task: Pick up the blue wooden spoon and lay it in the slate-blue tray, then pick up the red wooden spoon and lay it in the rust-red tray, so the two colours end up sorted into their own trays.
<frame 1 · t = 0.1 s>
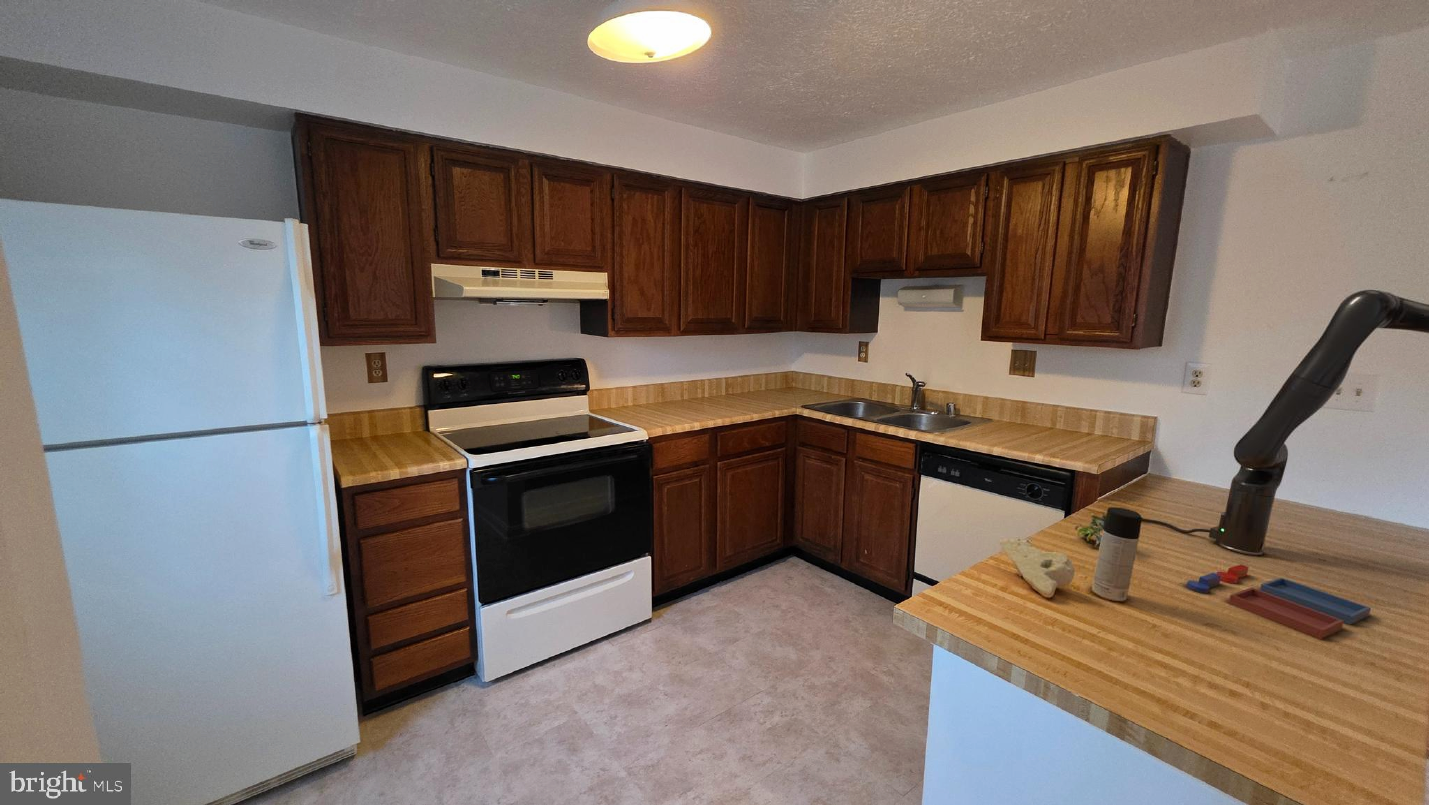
bone fragment: (1027, 583, 132), on the counter
spray can: (1108, 595, 128), on the counter
blue spoon: (1203, 587, 135), on the counter
red spoon: (1232, 577, 141), on the counter
red tray: (1282, 615, 123), on the counter
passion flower: (1101, 547, 157), on the counter
blue tray: (1312, 603, 130), on the counter
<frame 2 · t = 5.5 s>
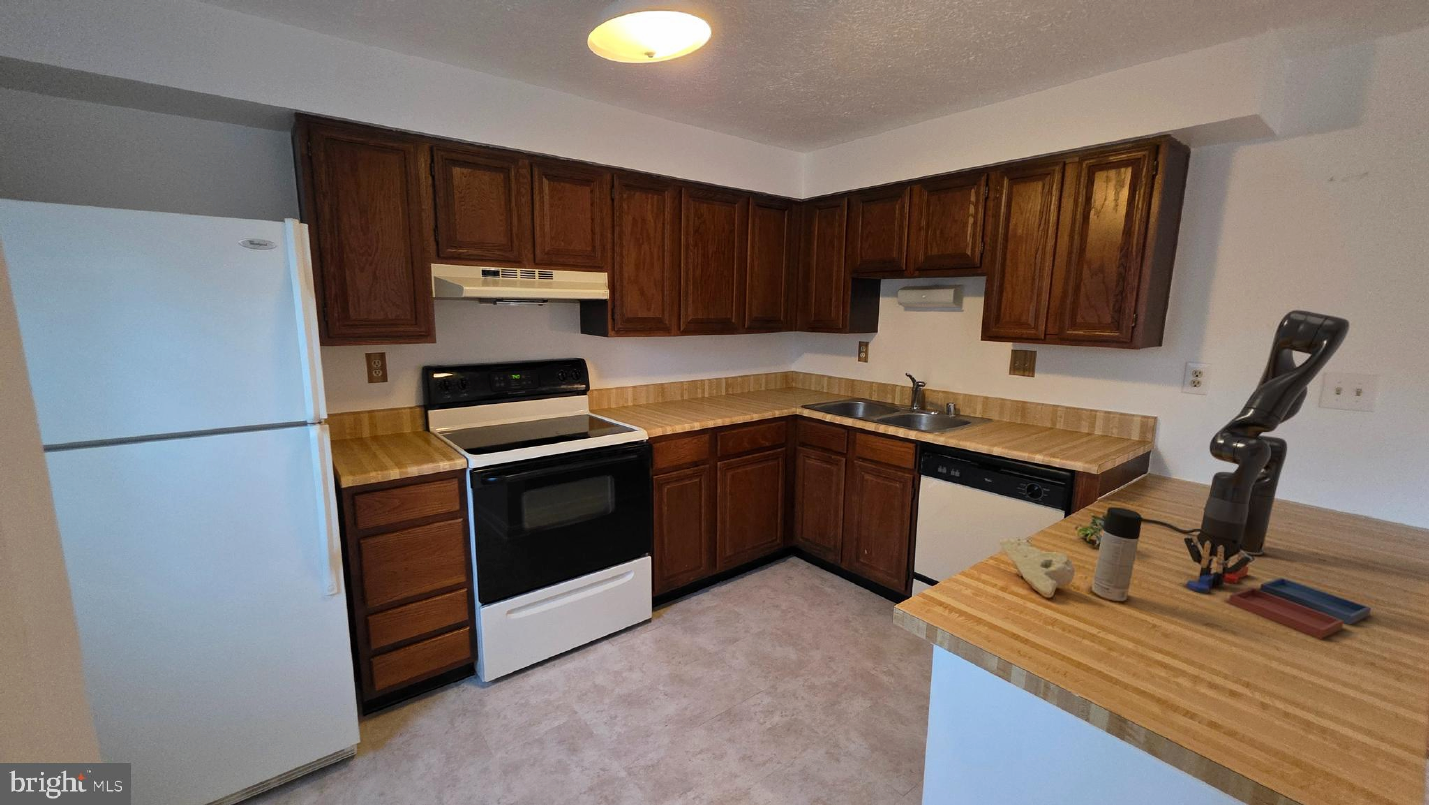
hand: (1210, 584, 137), 0 cm above the counter, tool pointing down, fingers closed on blue spoon
blue spoon: (1203, 587, 135), on the counter, touching gripper
everything else where it was.
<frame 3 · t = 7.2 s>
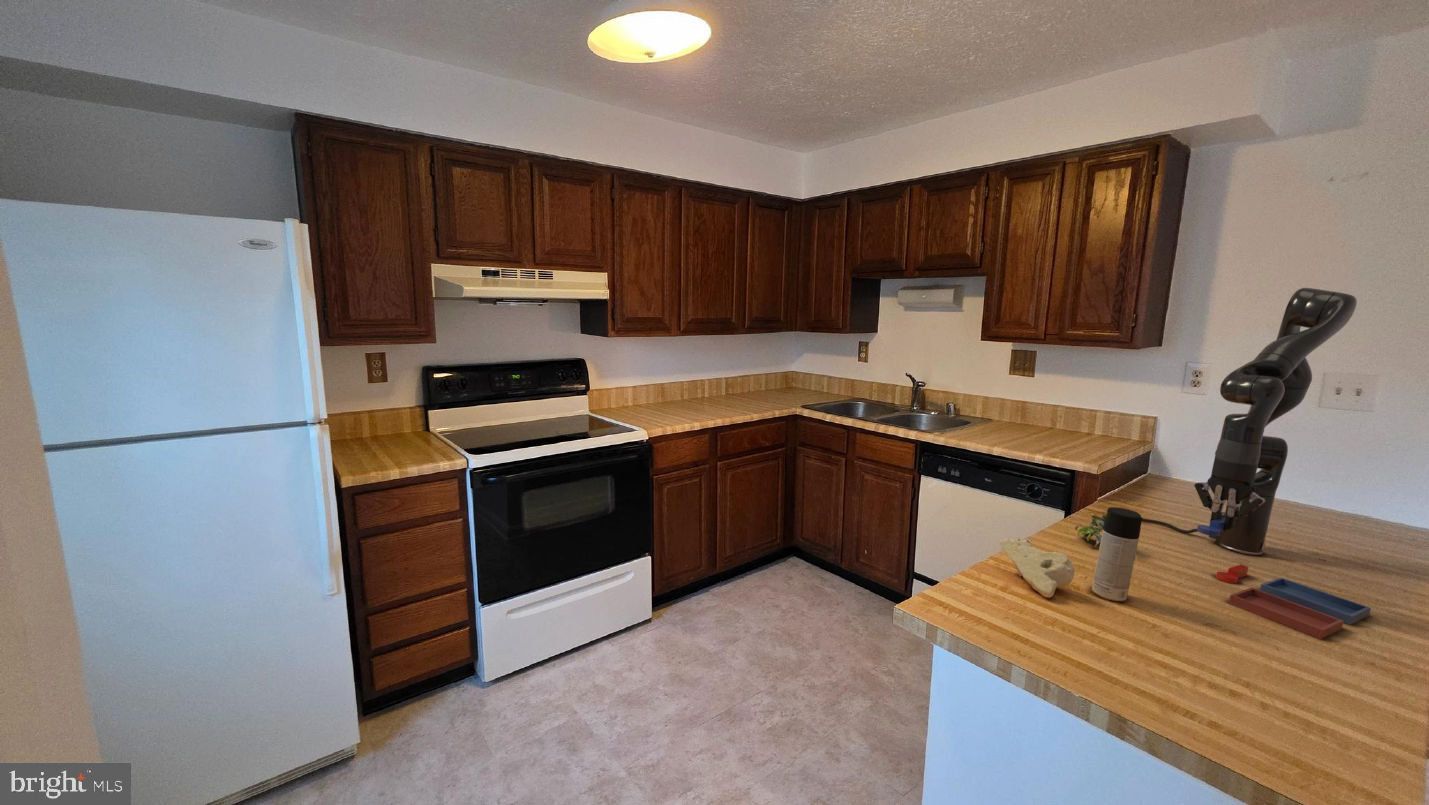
hand: (1221, 528, 134), 14 cm above the counter, tool pointing down, fingers closed on blue spoon, 1 cm apart
blue spoon: (1214, 531, 133), point 14 cm above the counter, touching gripper
everything else where it was.
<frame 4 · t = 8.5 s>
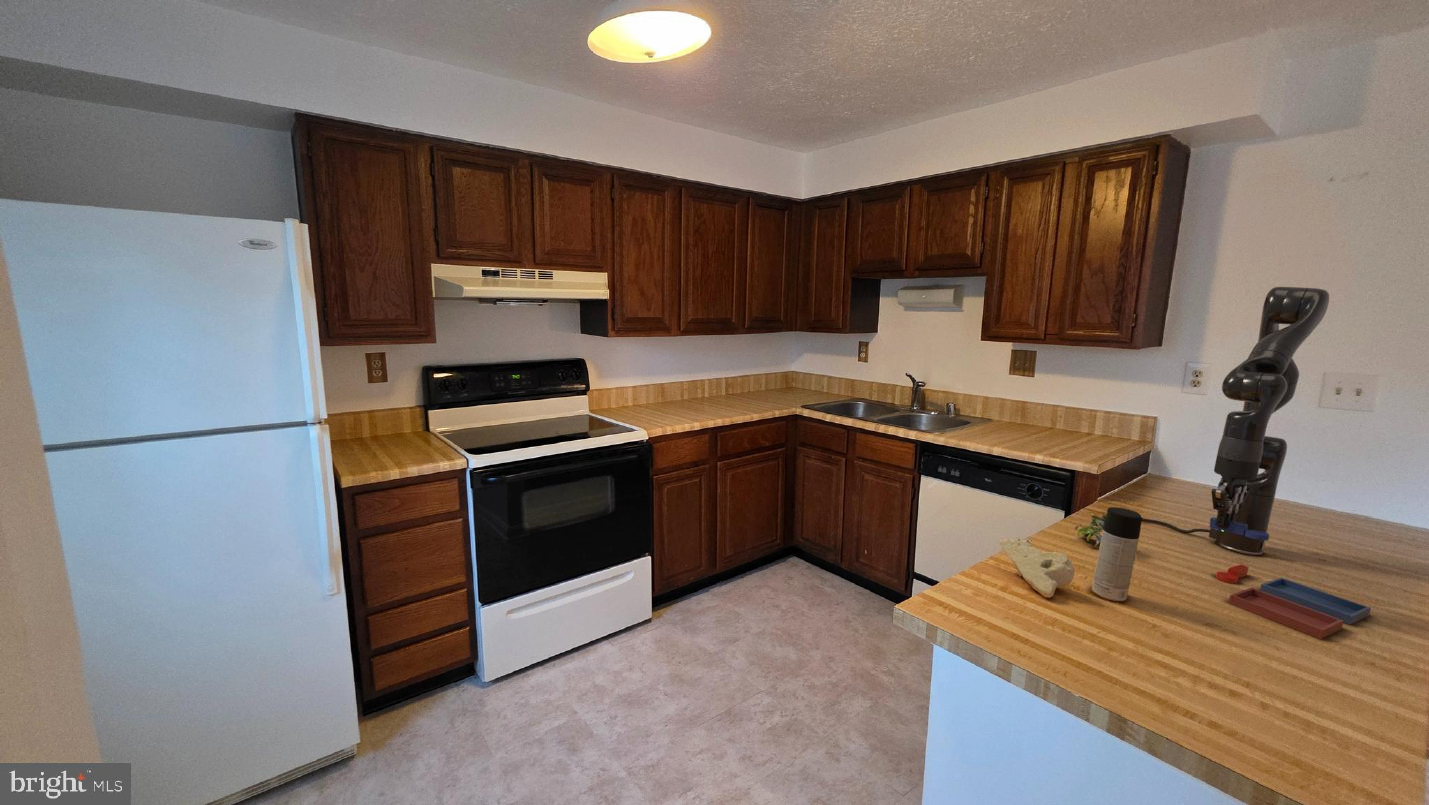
hand: (1223, 526, 134), 15 cm above the counter, tool pointing down, fingers closed on blue spoon, 1 cm apart
blue spoon: (1239, 533, 131), point 14 cm above the counter, touching gripper
everything else where it was.
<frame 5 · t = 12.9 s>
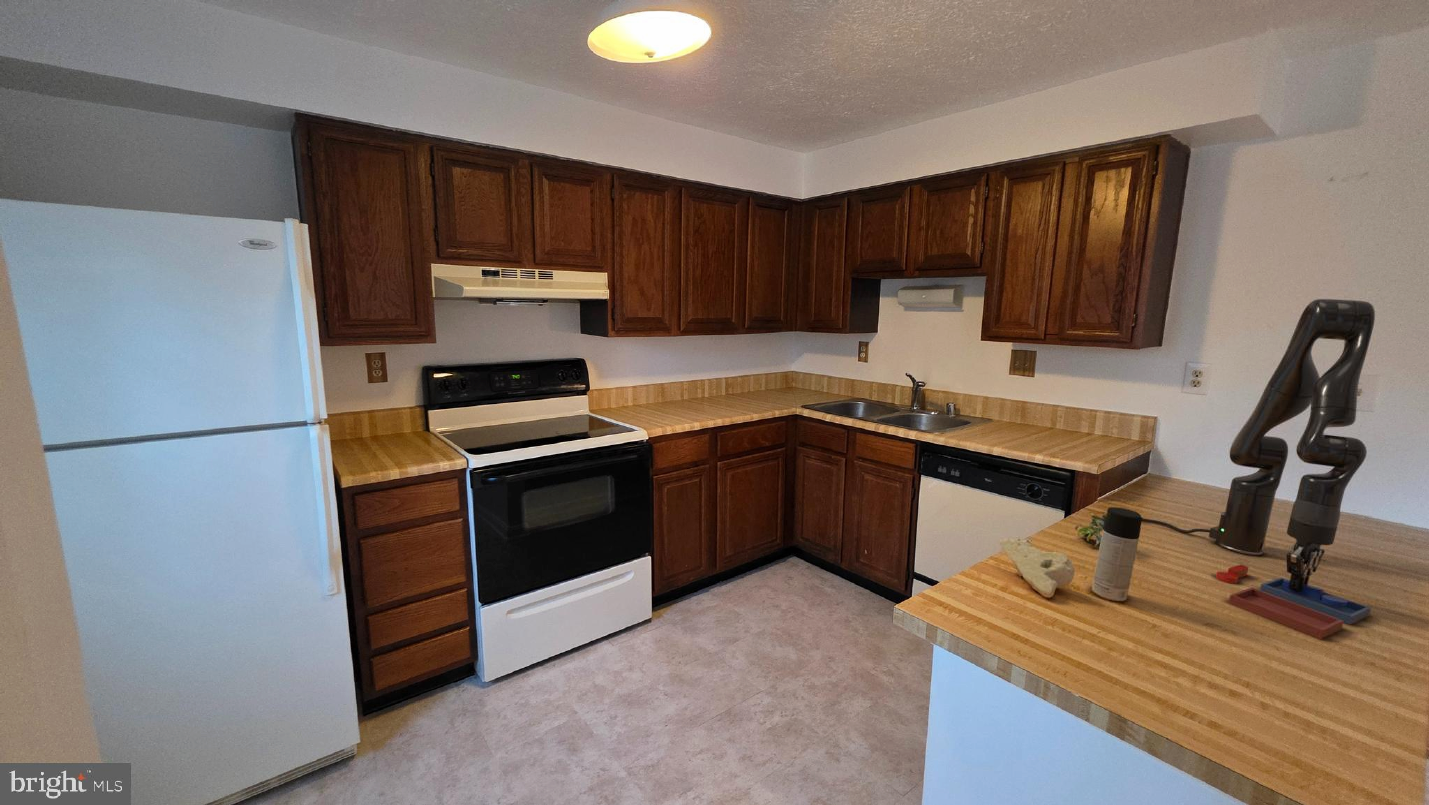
hand: (1296, 589, 132), 2 cm above the counter, tool pointing down, fingers closed on blue spoon, 1 cm apart
blue spoon: (1315, 598, 129), point 1 cm above the counter, tilted 5°, touching gripper
everything else where it was.
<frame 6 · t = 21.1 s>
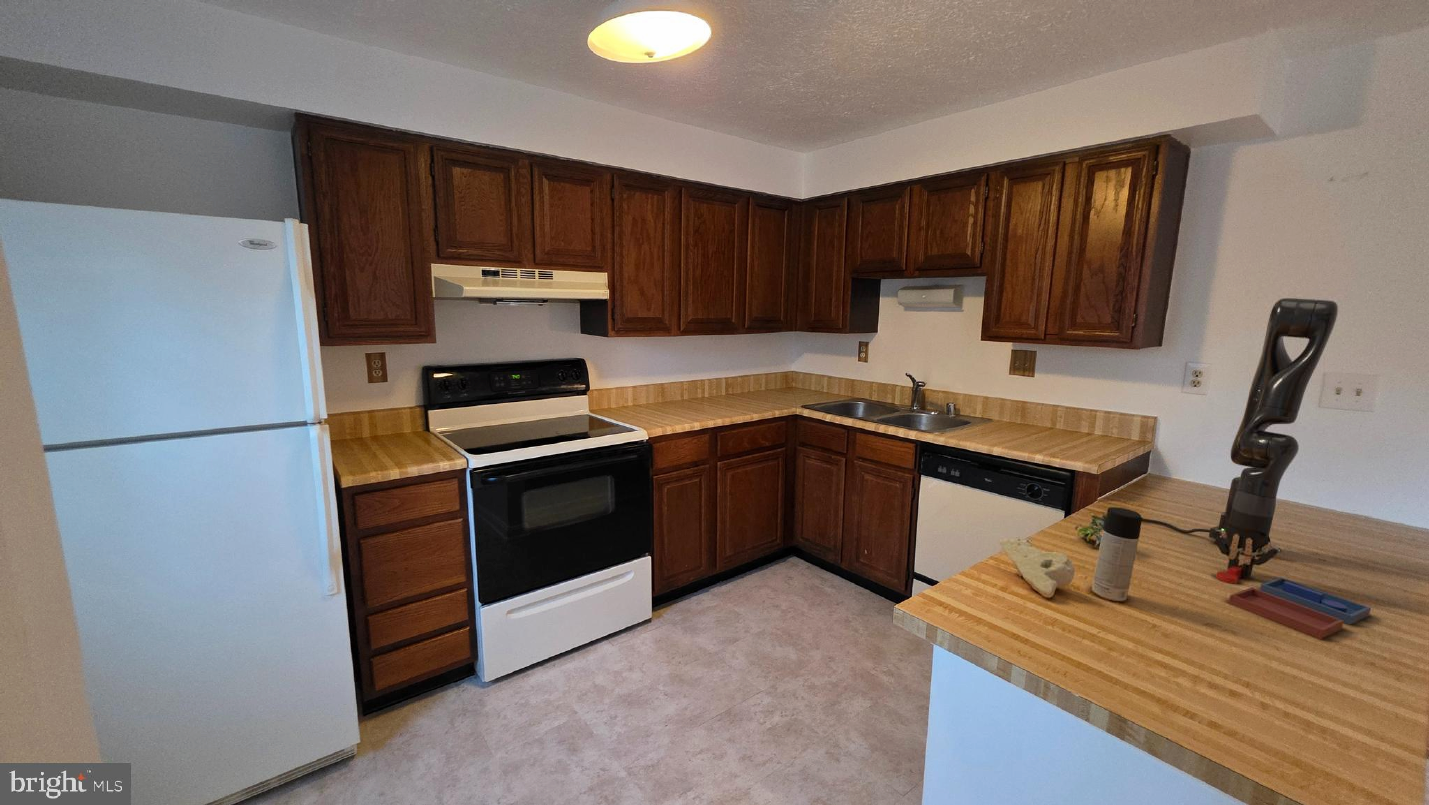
hand: (1238, 575, 143), 0 cm above the counter, tool pointing down, fingers closed on red spoon
blue spoon: (1314, 602, 130), resting on blue tray
red spoon: (1232, 577, 141), on the counter, touching gripper
everything else where it was.
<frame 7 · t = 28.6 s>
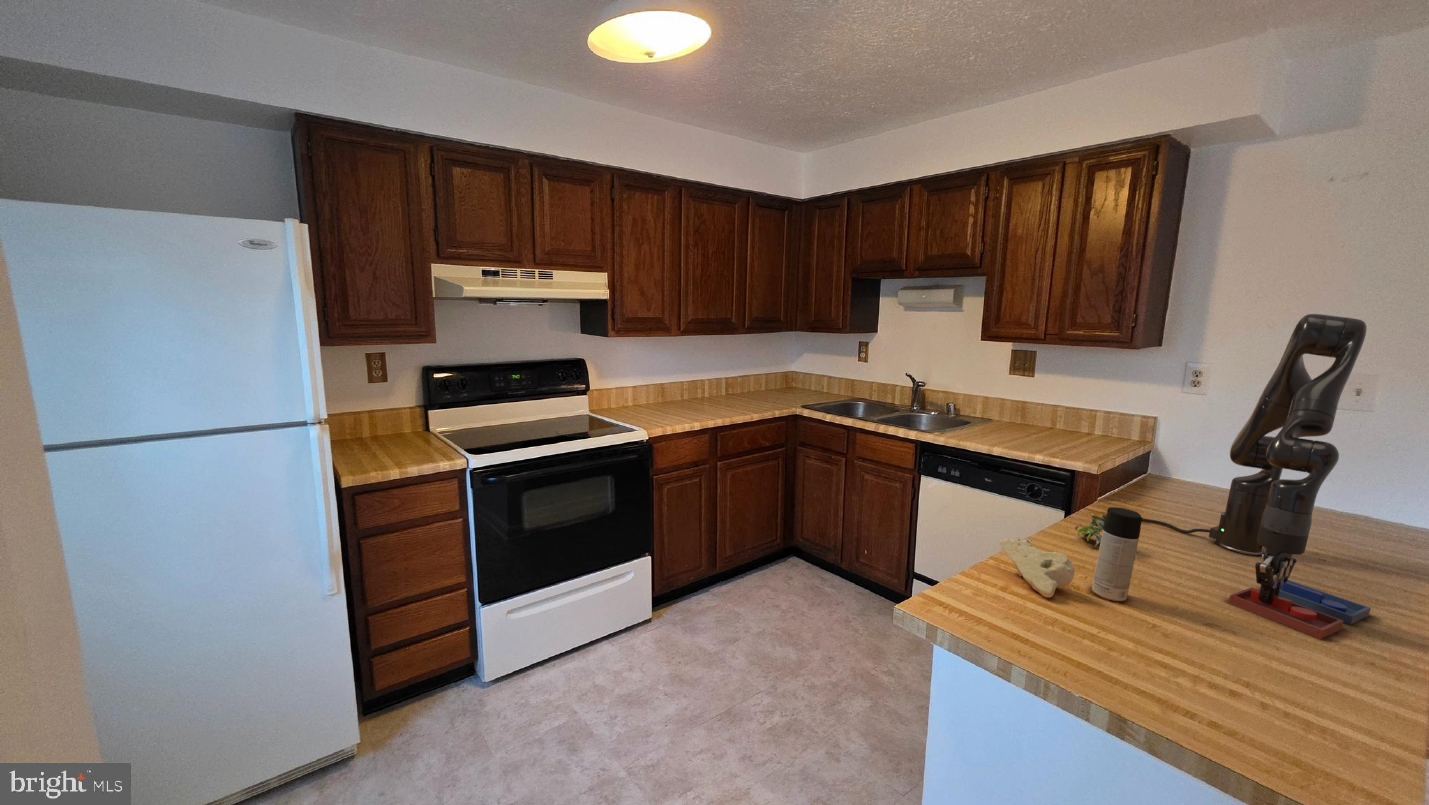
hand: (1267, 601, 126), 2 cm above the counter, tool pointing down, fingers closed on red spoon, 1 cm apart
red spoon: (1283, 610, 123), point 1 cm above the counter, touching gripper
everything else where it was.
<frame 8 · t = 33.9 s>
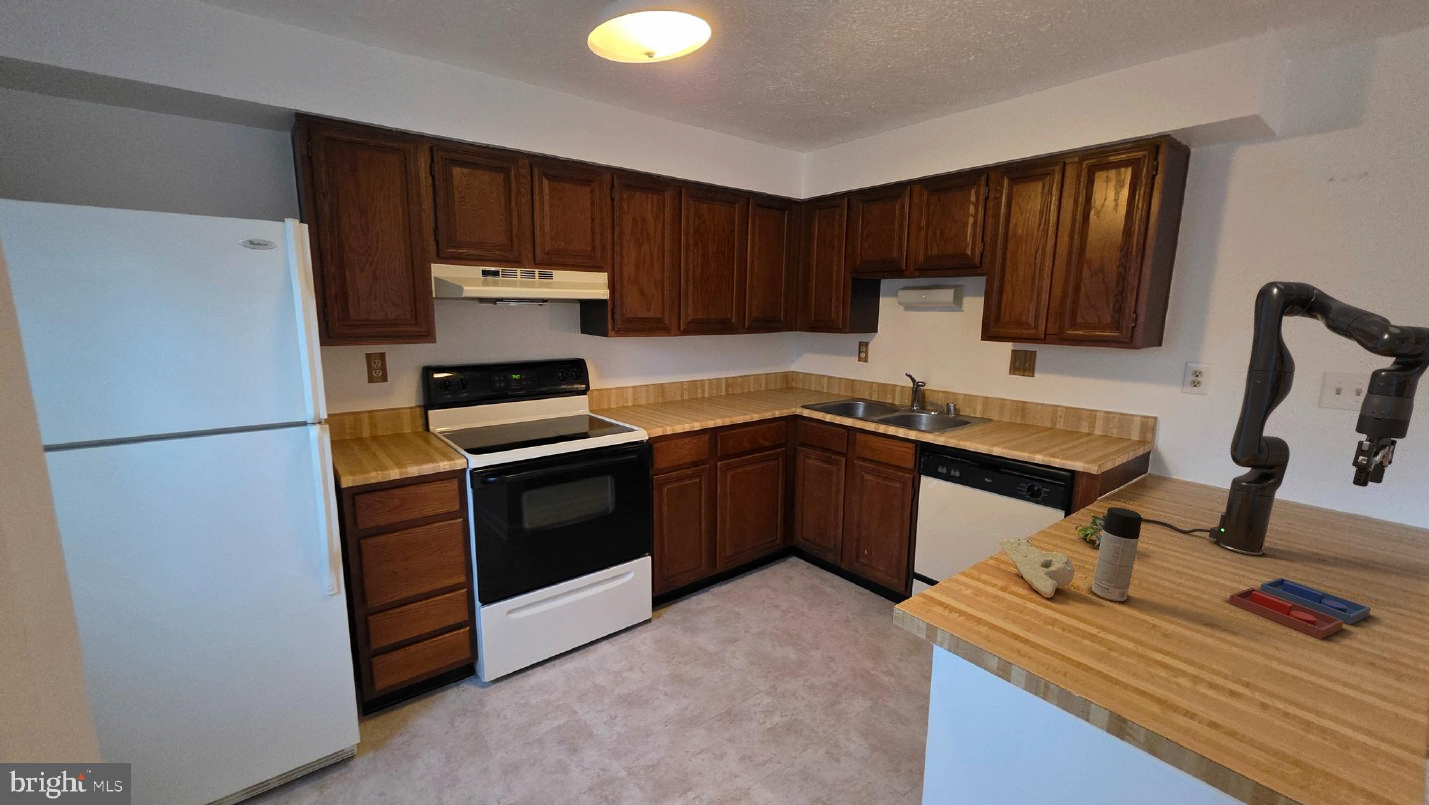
hand: (1366, 484, 129), 28 cm above the counter, tool pointing down, fingers open, 8 cm apart
red spoon: (1283, 613, 123), resting on red tray
everything else where it was.
at the end: blue spoon inside the target area in the blue tray (0.3 cm from its centre), point 0.5 cm above the blue tray's base; red spoon inside the target area in the red tray (0.1 cm from its centre), point 0.5 cm above the red tray's base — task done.
